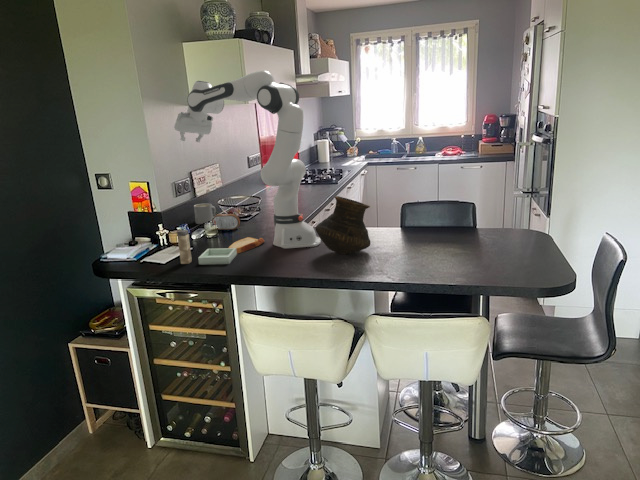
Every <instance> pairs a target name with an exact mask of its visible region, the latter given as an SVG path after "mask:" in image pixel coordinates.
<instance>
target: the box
mask: <svg viewBox="0 0 640 480" xmlns="http://www.w3.org/2000/svg"><path fill="white" fill-rule="evenodd" d="M237 255H238V254H237V249H236V248H229V247H228V248H226V247H225V248H222V247H221V248H207V249H206V250H205V251H204V252H202V253H201V254H200V255H199V256H198V257H197V258H198V265H230V264H231V263H232V261H234V260H235V258H236V257H237Z"/></svg>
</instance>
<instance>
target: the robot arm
mask: <svg viewBox="0 0 640 480" xmlns="http://www.w3.org/2000/svg"><path fill="white" fill-rule="evenodd" d="M225 100H230V101H236V102H245V103H246V102H252V101H255V100H256V101H257V104H258V105H259V106H260V107H261V108H262V109H263V110H266V111H268V112H270V113H271V114H272V115H275V114H276V115H277V117H278V118H277V119H278V121H277V127H276V129H277V130H276V136H275V141H274V142H275V143H274V146H273V149H272V152H271V154H270V156H269V158H268V160H267V162H266V163H265V164H264V165H263V167H262V168H261V170H260V178H261V180H262V183H263V184H265V186H268V187H278V188H277V191H276V193H275V195H274V197H273V209H274V214H273V225H274V238H273V243H272V244H273V246H276V247H279V248H282V249H295V248H298V249H299V248H306V247H307V248H309V247H310V248H311V247H317V246H319V245H320V244H322V243H321V242H322V240H321V238H320V237H319V236H317V234H316V233H317V232H316V229H315V228H314V227H313V226H311V225H310V224H309V223H307V222H306V221H304V215H303V213H300V212H299V200H298V198H299V191H300V186H301V182H302V180H303V178H304V177H305V175H306V165H305V163H304V162H303V161H302V160H301V159H297V158H295V156H296V155H297V153H298V152H299V151H300V148H301V143H302V137H303V130H304V129H303V128H304V110H303V108H302V107H301V106H299V105H298V104H299V101H300V94H299V90H298V89H297V88H296V87H295V86H293V85H291V84H288V83H284V82H279V83H277V82H276V81H275V78H274V76H273V74H271V72H269V71H268V70H259V71H255V72H252V73H251V72H250V73H248V74H246V75H243V76H242V77H239V78H236V79H233V80H230V81H226V82H224V83H222V84H221V83H220V84H218V85H215V86H214V85H212V84H211V82H208V81H204V80H196V81H195V82H194V83H193V85H192V89H191V91H190V92H189V93H188V95H187V101H186V102H187V105H188V106H187V111H186V112H184V111H181V112H180V113H177V118H176V120H175V123H174V127H173V128H174V130H175V131H177V132H178V133H179V134H180V141H182V142H185V141H186V137H185V135H186V133H189V134H198V137H196V138H195V142H196V143H200V142H201V140H202V139H203V137H204V135H210V134H211V131H212V127H213V120H214V117H213V116H212V115H211V114H213V115H215V114H216V115H217V114H220V113H221V112H222V111H223V110H224V107H225Z"/></svg>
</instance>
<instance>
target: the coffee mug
mask: <svg viewBox="0 0 640 480" xmlns="http://www.w3.org/2000/svg"><path fill="white" fill-rule="evenodd" d="M193 211H194V221H195V224H197V225H204V224H203V223H205V222H208V221H212V219H213V218H214V216H215V215H216V214H217V213H216V212H217V210H216V207H215V206H214V205H212V203H209V202H208V203H197V204H194V205H193Z"/></svg>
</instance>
